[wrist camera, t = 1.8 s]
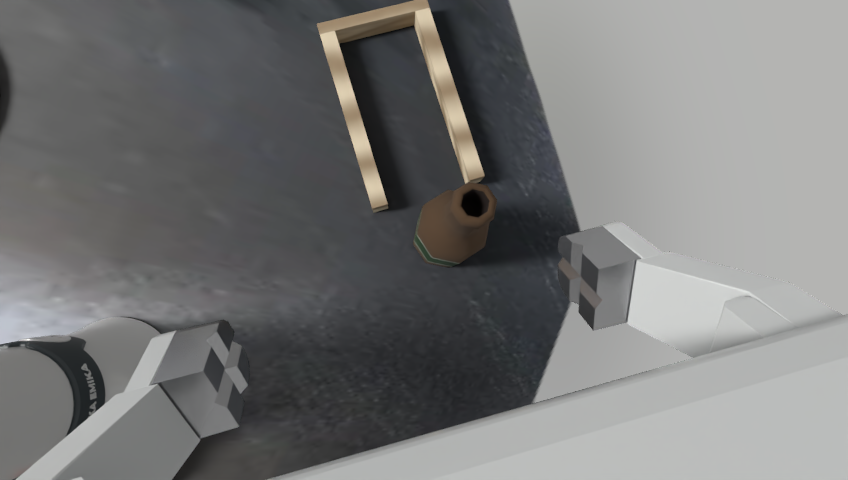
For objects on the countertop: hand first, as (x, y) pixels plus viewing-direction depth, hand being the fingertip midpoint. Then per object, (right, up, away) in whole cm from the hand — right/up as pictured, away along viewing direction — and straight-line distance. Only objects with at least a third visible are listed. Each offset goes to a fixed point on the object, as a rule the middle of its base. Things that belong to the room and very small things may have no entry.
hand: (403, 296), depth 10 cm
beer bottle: (+3, +1, +45) cm, 45 cm away
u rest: (-3, +19, +46) cm, 50 cm away
